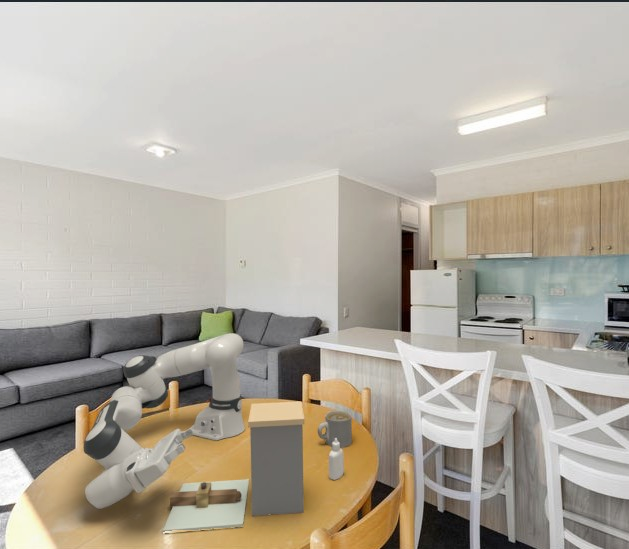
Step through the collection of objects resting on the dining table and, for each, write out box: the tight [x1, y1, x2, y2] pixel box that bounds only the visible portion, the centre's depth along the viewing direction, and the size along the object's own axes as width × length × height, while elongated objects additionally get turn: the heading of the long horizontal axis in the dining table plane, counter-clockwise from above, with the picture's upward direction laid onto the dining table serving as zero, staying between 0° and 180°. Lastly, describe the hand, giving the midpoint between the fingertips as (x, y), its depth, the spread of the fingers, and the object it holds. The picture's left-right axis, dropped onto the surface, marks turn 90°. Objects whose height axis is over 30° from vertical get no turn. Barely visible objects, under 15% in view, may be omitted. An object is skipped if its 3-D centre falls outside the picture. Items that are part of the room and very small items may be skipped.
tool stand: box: [247, 400, 305, 517], centre depth 105 cm, size 15×13×26 cm
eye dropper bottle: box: [328, 438, 345, 481], centre depth 117 cm, size 4×6×12 cm
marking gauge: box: [169, 481, 242, 508], centre depth 104 cm, size 20×5×5 cm, turn 94°
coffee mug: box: [317, 410, 353, 449], centre depth 140 cm, size 13×10×10 cm
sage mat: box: [162, 478, 250, 533], centre depth 103 cm, size 20×20×1 cm
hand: (188, 438), depth 102 cm, fingers open, 8 cm apart
